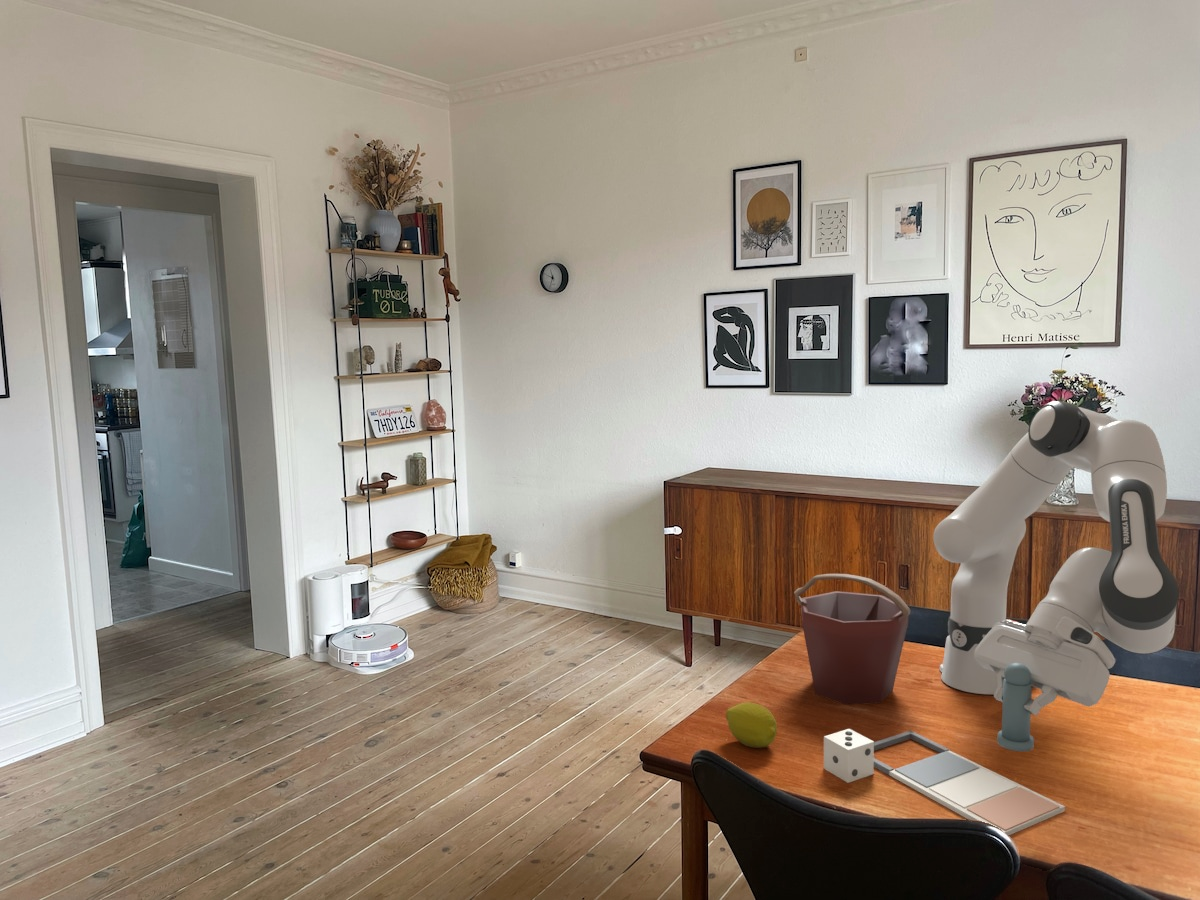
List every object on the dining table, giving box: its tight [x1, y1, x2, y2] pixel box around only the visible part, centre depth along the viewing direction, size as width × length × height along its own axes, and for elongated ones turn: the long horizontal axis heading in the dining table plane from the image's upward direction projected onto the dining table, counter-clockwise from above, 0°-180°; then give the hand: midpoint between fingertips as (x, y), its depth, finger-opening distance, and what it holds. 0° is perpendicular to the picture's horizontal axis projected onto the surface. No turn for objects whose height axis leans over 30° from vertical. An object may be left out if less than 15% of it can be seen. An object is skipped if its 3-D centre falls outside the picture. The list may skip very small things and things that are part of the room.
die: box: [823, 728, 875, 784], centre depth 153 cm, size 6×6×6 cm
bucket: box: [793, 573, 911, 705], centre depth 188 cm, size 24×22×25 cm
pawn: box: [996, 663, 1035, 752], centre depth 137 cm, size 5×5×13 cm
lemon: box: [725, 701, 778, 749], centre depth 164 cm, size 11×8×8 cm
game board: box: [874, 729, 1066, 837], centre depth 149 cm, size 15×32×1 cm, turn 28°
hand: (1014, 705), depth 136 cm, fingers closed on pawn, 4 cm apart
